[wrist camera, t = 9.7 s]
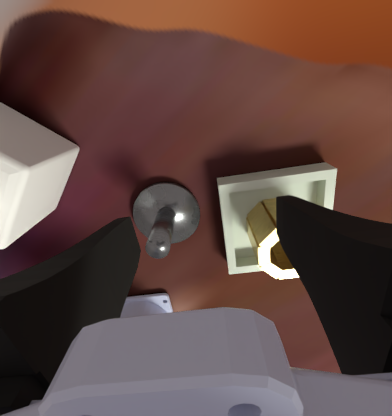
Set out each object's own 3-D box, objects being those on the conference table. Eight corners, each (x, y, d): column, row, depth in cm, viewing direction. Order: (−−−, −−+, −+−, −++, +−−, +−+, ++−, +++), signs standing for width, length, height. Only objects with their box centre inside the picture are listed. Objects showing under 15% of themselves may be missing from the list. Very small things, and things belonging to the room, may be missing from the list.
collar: (299, 194, 21) (327, 221, 17) (297, 249, 24) (320, 284, 19) (244, 202, 22) (256, 229, 17) (248, 255, 24) (260, 291, 20)
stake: (204, 236, 24) (205, 276, 19) (143, 243, 25) (128, 285, 19) (194, 177, 21) (192, 204, 16) (126, 187, 22) (102, 216, 16)
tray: (317, 251, 25) (327, 263, 23) (227, 261, 25) (229, 274, 24) (324, 162, 21) (337, 168, 19) (216, 178, 21) (218, 185, 20)
